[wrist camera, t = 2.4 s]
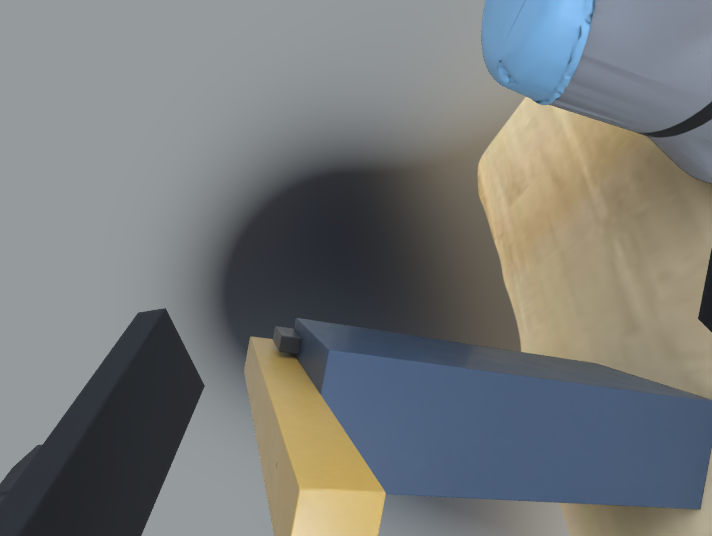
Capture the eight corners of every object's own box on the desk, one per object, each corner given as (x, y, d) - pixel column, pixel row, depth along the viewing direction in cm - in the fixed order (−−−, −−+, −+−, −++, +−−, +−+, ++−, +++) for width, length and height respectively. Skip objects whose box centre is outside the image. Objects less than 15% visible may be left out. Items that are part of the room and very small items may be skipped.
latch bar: (386, 492, 16) (299, 488, 15) (370, 580, 16) (281, 581, 15) (285, 341, 41) (250, 336, 40) (278, 375, 41) (243, 371, 40)
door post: (720, 402, 35) (302, 345, 26) (700, 509, 35) (275, 489, 26) (595, 363, 46) (277, 314, 38) (581, 443, 46) (258, 414, 37)
